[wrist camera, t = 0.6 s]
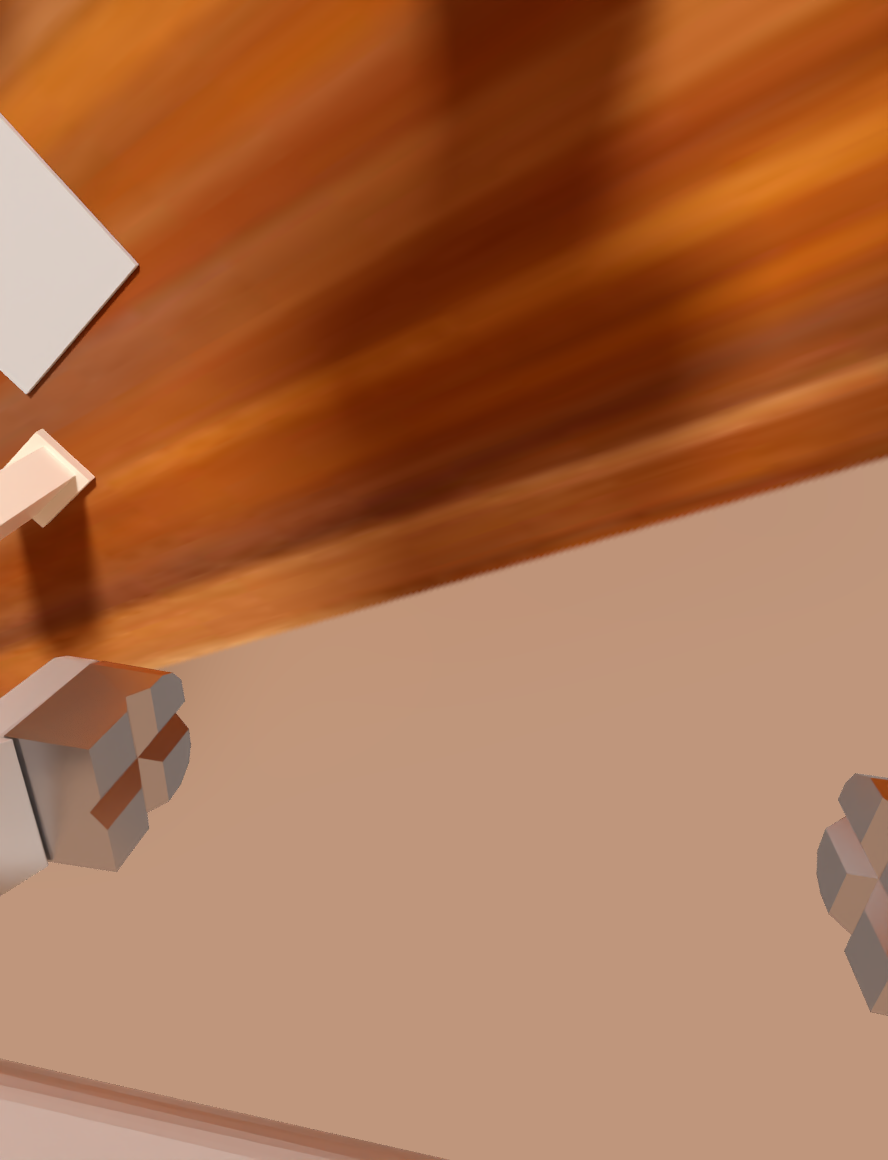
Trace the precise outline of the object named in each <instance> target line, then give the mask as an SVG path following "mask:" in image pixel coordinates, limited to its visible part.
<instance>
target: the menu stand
mask: <svg viewBox="0 0 888 1160" xmlns="http://www.w3.org/2000/svg"><path fill="white" fill-rule="evenodd" d="M94 478H95V477H94V476H93V475H92V474H91V473H90V472H89V471H88V470H87V469H86V468H85V467H84V466H83V465H81V464H80V463H79V462H78V461H77V460H76V459H75V458H74V457H73V456H72V455H71V454H70V453H68V452H67V451H66V450H65V449H64V448H63V447H62V446H61V445H60V444H59V443H58V442H56V441H55V440H54V439H53V438H52V437H51V436H50V435H49V434H48V433H47V432H46V431H45V430H43V429H41V430H39V431H37V432H36V433H35V434H34V435H33V436H32V437H31V438H30V439H29V441H28V442H27V443H26V444H25V445H24V446H23V447H22V448H21V449H20V451H19V452H18V453H17V454H16V455H15V456H14V457H13V458H12V460H11V461H10V462H9V463H8V464H7V465H6V466H5V467H4V468H3V469H2V470H0V540H2V539H3V538H5V537H6V536H8V535H9V534H10V533H12V532H13V531H15V530H16V529H18V528H19V527H20V526H22V525H23V524H25V523H26V522H28V521H29V520H31V519H33V520H34V521H35V522H37V523H38V524H39V525H40V526H41V527H42V528H43V527H45V526H46V525H47V524H49V523H50V522H51V521H52V520H53V519H54V518H55V517H56V516H57V515H58V514H59V513H60V512H61V511H62V510H63V509H64V508H65V507H66V506H67V505H68V504H69V503H70V502H71V501H72V500H73V499H74V498H75V497H76V496H77V495H78V494H79V493H80V492H81V491H82V490H83V489H84V488H85V487H86V486H87V485H88V484H89V483H90V482H91V481H92V480H93V479H94Z"/></svg>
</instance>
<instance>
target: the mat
mask: <svg viewBox="0 0 888 1160" xmlns="http://www.w3.org/2000/svg"><path fill="white" fill-rule="evenodd" d="M138 265H139V264H138V263H137V262H136V261H135V260H134V259H133V258H132V256H131V255H130V254H129V253H128V252H127V251H126V250H125V249H124V248H123V247H122V246H121V244H120V243H119V242H118V241H117V240H116V239H115V238H114V237H113V236H112V235H111V234H110V232H109V231H108V230H107V229H106V228H105V227H104V226H103V225H102V224H101V223H100V221H99V220H98V219H97V218H96V217H95V216H94V215H93V214H92V213H91V212H90V211H89V209H88V208H87V207H86V206H85V205H84V204H83V203H82V202H81V201H80V200H79V199H78V197H77V196H76V195H75V194H74V193H73V192H72V191H71V190H70V189H69V188H68V187H67V185H66V184H65V183H64V182H63V181H62V180H61V179H60V178H59V177H58V176H57V174H56V173H55V172H54V171H53V170H52V169H51V168H50V167H49V166H48V165H47V164H46V162H45V161H44V160H43V159H42V158H41V157H40V156H39V155H38V154H37V153H36V152H35V150H34V149H33V148H32V147H31V146H30V145H29V144H28V143H27V142H26V141H25V139H24V138H23V137H22V136H21V135H20V134H19V133H18V132H17V131H16V130H15V129H14V127H13V126H12V125H11V124H10V123H9V122H8V121H7V120H6V119H5V118H4V117H3V115H2V114H1V113H0V370H1V371H2V372H3V373H4V374H5V375H6V376H7V377H8V378H9V379H10V380H11V381H12V382H14V383H15V384H16V385H17V386H18V387H19V388H20V389H21V390H22V391H23V392H24V393H25V394H28V393H30V392H31V391H32V389H33V388H34V387H35V386H36V385H37V384H38V382H39V381H40V380H41V379H42V378H43V377H44V375H45V374H46V373H47V372H48V371H49V370H50V368H51V367H52V366H53V365H54V364H55V363H56V361H57V360H58V359H59V358H60V357H61V355H62V354H63V353H64V352H65V351H66V350H67V348H68V347H69V346H70V345H71V344H72V343H73V341H74V340H75V339H76V338H77V337H78V336H79V334H80V333H81V332H82V331H83V330H84V329H85V327H86V326H87V325H88V324H89V323H90V322H91V320H92V319H93V318H94V317H95V316H96V315H97V313H98V312H99V311H100V310H101V309H102V308H103V306H104V305H105V304H106V303H107V302H108V300H109V299H110V298H111V297H112V296H113V295H114V293H115V292H116V291H117V290H118V289H119V288H120V286H121V285H122V284H123V283H124V282H125V281H126V279H127V278H128V277H129V276H130V275H131V274H132V272H133V271H134V270H135V269H136V268H137V267H138Z"/></svg>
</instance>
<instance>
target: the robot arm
mask: <svg viewBox="0 0 888 1160" xmlns="http://www.w3.org/2000/svg"><path fill="white" fill-rule="evenodd" d="M184 702H185V698H184V692H183V687H182V681H181V679H180V678H179V677H177V676H176V675H175V674H173V673H171V672H165V671H159V670H154V669H148V668H142V667H136V666H130V665H124V664H118V663H112V662H107V661H97V660H93V659H86V658H80V657H73V656H62V657H56V658H53V659H52V660H51V661H49V662H48V663H47V664H45V665H44V666H43V667H41V668H40V669H39V670H37V671H36V672H35V673H33V674H32V675H31V676H29V677H28V678H27V679H26V680H24V681H23V682H22V683H20V684H19V685H18V686H16V687H15V688H14V689H12V690H11V691H10V692H8V693H7V694H6V695H4V696H3V697H2V698H0V896H1V895H3V894H5V893H6V892H8V891H9V890H11V889H12V888H14V887H16V886H17V885H19V884H20V883H22V882H23V881H25V880H27V879H28V878H29V877H31V876H33V875H34V874H36V873H38V872H39V871H41V870H42V869H44V868H45V867H47V866H48V862H54V863H61V864H67V865H75V866H80V867H87V868H94V869H100V870H106V871H113V872H117V871H118V870H119V868H120V867H121V866H122V864H123V863H124V861H125V860H126V859H127V857H128V856H129V855H130V853H131V852H132V851H133V849H134V848H135V846H136V845H137V844H138V843H139V841H140V840H141V838H142V837H143V836H144V834H145V833H146V832H147V830H148V829H149V823H148V814H147V813H148V812H150V811H152V810H153V809H155V808H157V807H159V806H161V805H163V804H165V803H167V802H169V800H170V799H171V798H172V796H173V795H174V793H175V792H176V790H177V789H178V788H179V786H180V785H181V782H182V780H183V777H184V775H185V772H186V769H187V766H188V764H189V757H190V748H191V742H190V733H189V728H188V727H187V726H186V725H185V724H184V722H183V721H182V720H181V719H180V718H179V716H178V715H177V714H176V712H177V711H178V710H179V708H180V707H181V705H182V704H183V703H184ZM838 801H839V803H840V805H841V807H842V809H843V811H844V813H845V815H846V816H845V817H844V818H842V819H840V820H839V821H837V822H835V823H834V824H832V825H831V826H829V827H827V828H826V829H825V832H824V834H823V837H822V840H821V842H820V845H819V848H818V852H817V878H818V883H819V888H820V893H821V896H822V899H823V901H824V904H825V906H826V908H827V911H828V913H829V915H831V916H832V917H833V918H834V919H835V920H836V921H837V922H838V923H839V924H840V925H841V926H842V927H843V928H845V929H846V930H847V931H848V932H849V933H850V934H851V937H850V939H849V941H848V943H847V946H846V948H845V951H844V952H845V954H846V956H847V958H848V961H849V963H850V965H851V968H852V970H853V972H854V975H855V977H856V979H857V982H858V984H859V986H860V989H861V991H862V993H863V996H864V998H865V1000H866V1003H867V1005H868V1007H869V1010H870V1012H872V1013H877V1014H882V1015H887V1016H888V778H885V777H878V776H871V775H864V774H854V775H853V776H852V777H851V778H850V779H849V780H848V781H847V782H846V783H845V785H844V787H843V790H842V792H841V794H840V796H839V798H838ZM0 1160H448V1159H443V1158H439V1157H435V1156H430V1155H426V1154H421V1153H417V1152H412V1151H408V1150H403V1149H399V1148H395V1147H390V1146H386V1145H381V1144H377V1143H373V1142H368V1141H364V1140H359V1139H355V1138H350V1137H346V1136H341V1135H337V1134H333V1133H328V1132H323V1131H319V1130H315V1129H310V1128H306V1127H301V1126H297V1125H293V1124H288V1123H284V1122H279V1121H275V1120H270V1119H265V1118H261V1117H257V1116H253V1115H248V1114H243V1113H239V1112H235V1111H230V1110H225V1109H221V1108H217V1107H213V1106H208V1105H204V1104H199V1103H195V1102H190V1101H186V1100H181V1099H177V1098H173V1097H168V1096H164V1095H159V1094H155V1093H150V1092H146V1091H142V1090H137V1089H133V1088H128V1087H124V1086H120V1085H115V1084H110V1083H106V1082H102V1081H97V1080H92V1079H88V1078H84V1077H80V1076H75V1075H71V1074H66V1073H62V1072H57V1071H53V1070H48V1069H44V1068H39V1067H35V1066H31V1065H26V1064H22V1063H18V1062H13V1061H9V1060H4V1059H0Z"/></svg>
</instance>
